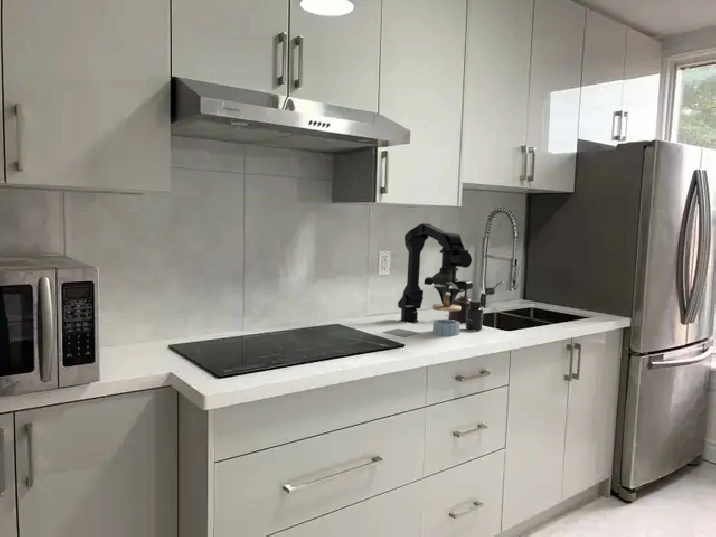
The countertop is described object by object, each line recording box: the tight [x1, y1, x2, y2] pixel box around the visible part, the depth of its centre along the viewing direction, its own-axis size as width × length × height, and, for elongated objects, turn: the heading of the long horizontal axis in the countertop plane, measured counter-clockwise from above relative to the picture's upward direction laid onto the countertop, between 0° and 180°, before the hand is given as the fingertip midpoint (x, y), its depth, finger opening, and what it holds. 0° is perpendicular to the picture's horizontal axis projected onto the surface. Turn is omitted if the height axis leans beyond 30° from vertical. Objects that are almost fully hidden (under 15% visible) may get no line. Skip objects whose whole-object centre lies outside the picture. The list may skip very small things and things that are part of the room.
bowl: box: [432, 319, 460, 337], centre depth 216 cm, size 10×10×5 cm
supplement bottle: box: [465, 300, 484, 332], centre depth 228 cm, size 7×7×12 cm
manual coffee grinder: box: [444, 285, 475, 324], centre depth 247 cm, size 16×11×18 cm
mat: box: [381, 328, 421, 338], centre depth 214 cm, size 11×11×1 cm
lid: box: [431, 293, 461, 313], centre depth 215 cm, size 11×11×6 cm
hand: (447, 304), depth 216 cm, fingers closed on lid, 3 cm apart
